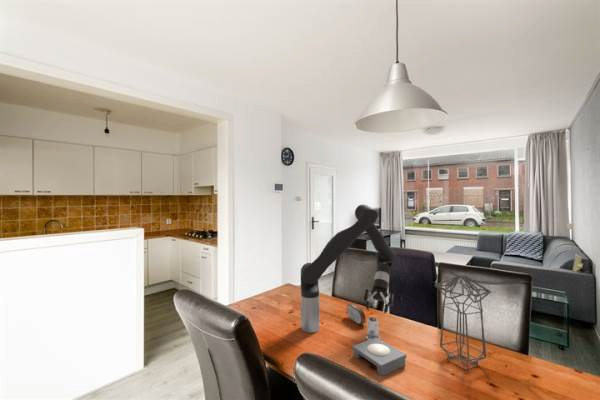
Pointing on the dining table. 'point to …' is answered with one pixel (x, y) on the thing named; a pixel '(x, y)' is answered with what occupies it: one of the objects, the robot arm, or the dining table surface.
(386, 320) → the dining table surface
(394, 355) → the stand
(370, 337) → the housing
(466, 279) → the geometric lantern
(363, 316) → the tin
